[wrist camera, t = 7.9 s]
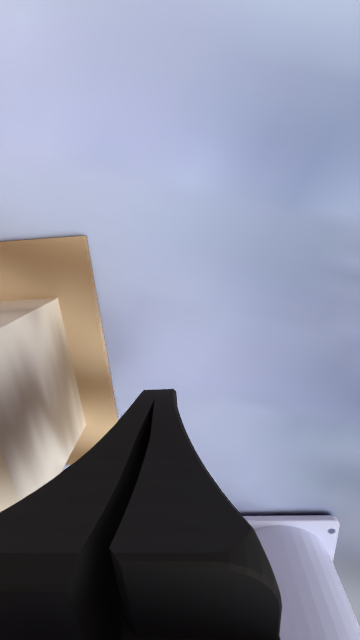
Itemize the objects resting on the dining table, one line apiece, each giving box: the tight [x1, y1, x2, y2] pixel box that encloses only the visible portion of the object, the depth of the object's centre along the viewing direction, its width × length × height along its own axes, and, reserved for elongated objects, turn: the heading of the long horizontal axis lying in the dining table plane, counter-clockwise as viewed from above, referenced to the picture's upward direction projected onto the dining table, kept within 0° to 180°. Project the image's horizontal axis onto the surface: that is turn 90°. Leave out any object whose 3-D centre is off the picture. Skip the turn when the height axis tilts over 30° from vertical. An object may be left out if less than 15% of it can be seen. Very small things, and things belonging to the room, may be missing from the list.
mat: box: [0, 236, 118, 465], centre depth 15 cm, size 14×12×1 cm
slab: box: [0, 298, 86, 512], centre depth 12 cm, size 8×3×6 cm, turn 4°
